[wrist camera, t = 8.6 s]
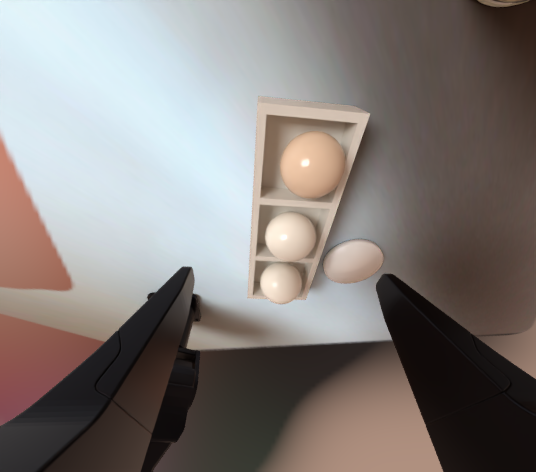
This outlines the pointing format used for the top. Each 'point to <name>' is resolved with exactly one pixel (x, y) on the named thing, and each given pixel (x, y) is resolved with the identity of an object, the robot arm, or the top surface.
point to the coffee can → (502, 2)
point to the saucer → (352, 261)
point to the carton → (274, 190)
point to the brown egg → (312, 164)
